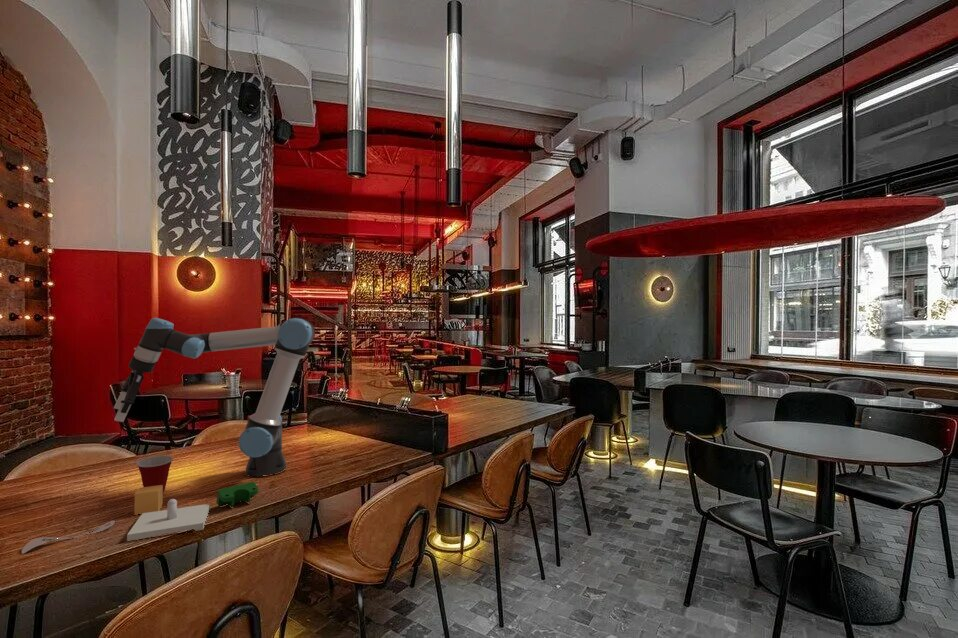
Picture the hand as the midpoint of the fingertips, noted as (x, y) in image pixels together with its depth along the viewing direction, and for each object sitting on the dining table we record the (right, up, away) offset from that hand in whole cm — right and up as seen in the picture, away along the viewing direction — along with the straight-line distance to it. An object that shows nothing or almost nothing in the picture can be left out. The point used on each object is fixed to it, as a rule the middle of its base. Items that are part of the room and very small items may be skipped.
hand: (118, 414), depth 162 cm
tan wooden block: (+23, -28, -16) cm, 39 cm away
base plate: (+38, -27, -27) cm, 54 cm away
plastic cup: (+14, -28, -1) cm, 31 cm away
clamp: (+49, -28, -12) cm, 58 cm away
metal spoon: (+15, -28, -36) cm, 48 cm away
